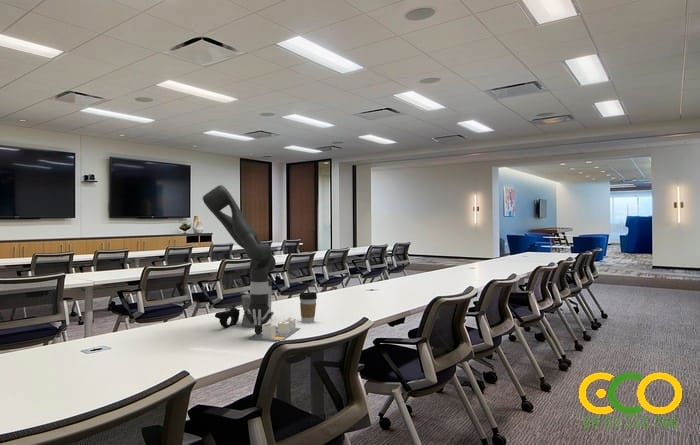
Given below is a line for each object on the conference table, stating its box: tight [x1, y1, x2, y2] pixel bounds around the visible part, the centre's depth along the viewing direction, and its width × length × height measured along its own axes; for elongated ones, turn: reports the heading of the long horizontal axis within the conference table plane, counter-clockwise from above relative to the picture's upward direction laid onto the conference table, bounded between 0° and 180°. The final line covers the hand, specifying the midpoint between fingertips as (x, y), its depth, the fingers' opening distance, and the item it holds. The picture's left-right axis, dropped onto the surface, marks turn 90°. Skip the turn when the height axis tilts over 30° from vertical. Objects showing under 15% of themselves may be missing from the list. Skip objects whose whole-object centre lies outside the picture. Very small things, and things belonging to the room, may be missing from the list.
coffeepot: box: [241, 292, 255, 329], centre depth 203 cm, size 15×9×18 cm, turn 8°
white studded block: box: [283, 316, 297, 331], centre depth 194 cm, size 4×4×6 cm
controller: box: [214, 304, 241, 329], centre depth 202 cm, size 4×12×10 cm, turn 145°
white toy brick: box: [262, 322, 277, 338], centre depth 183 cm, size 4×4×6 cm
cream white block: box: [277, 319, 290, 335], centre depth 188 cm, size 4×4×6 cm
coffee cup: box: [299, 291, 318, 324], centre depth 213 cm, size 8×8×15 cm
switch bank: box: [246, 325, 301, 343], centre depth 189 cm, size 14×24×2 cm, turn 167°
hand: (258, 333), depth 184 cm, fingers closed
